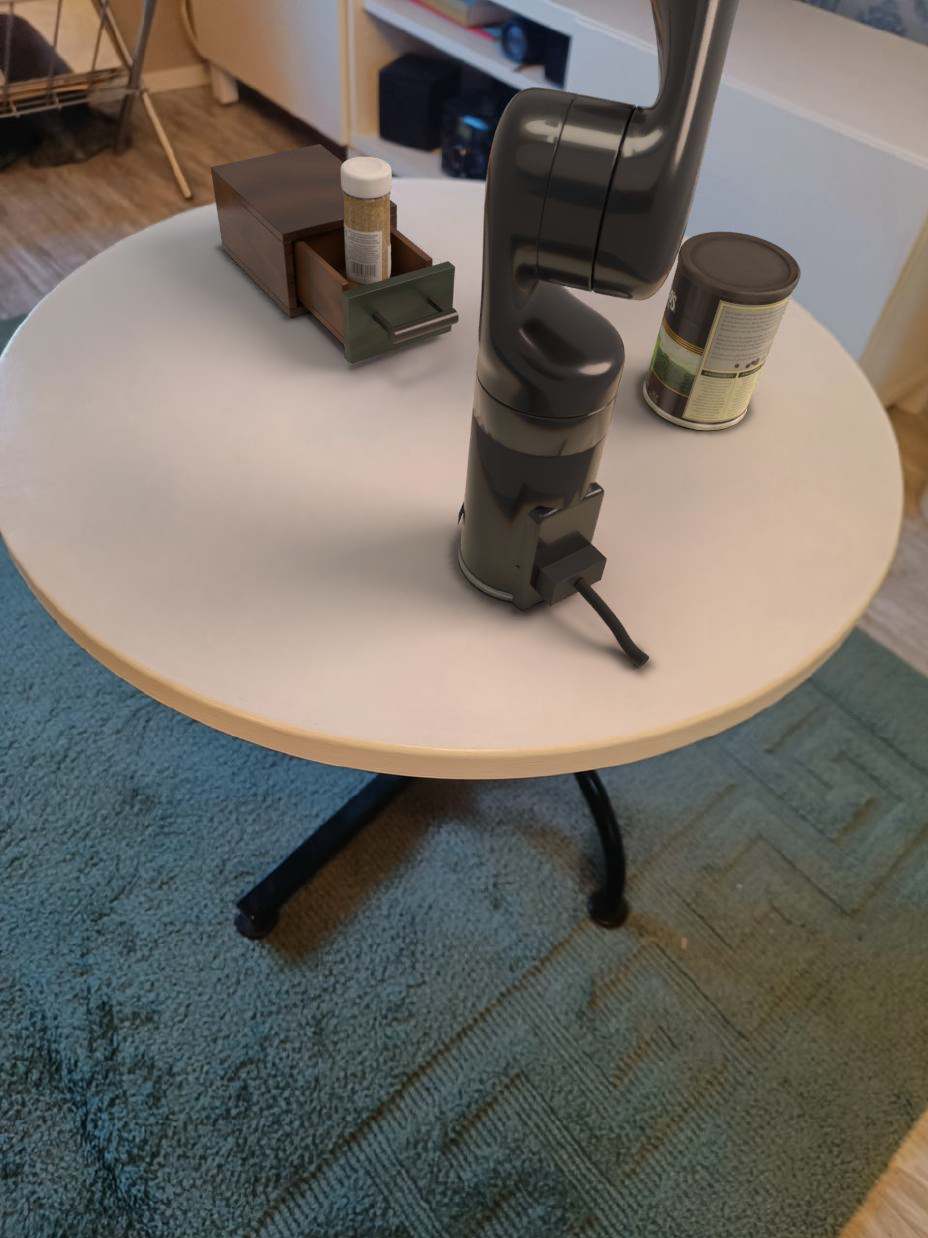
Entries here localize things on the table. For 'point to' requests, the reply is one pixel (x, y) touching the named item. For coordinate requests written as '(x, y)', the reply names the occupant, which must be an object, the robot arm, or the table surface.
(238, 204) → the cabinet
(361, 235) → the sprinkles bottle
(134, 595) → the table surface
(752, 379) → the coffee can
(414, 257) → the drawer
